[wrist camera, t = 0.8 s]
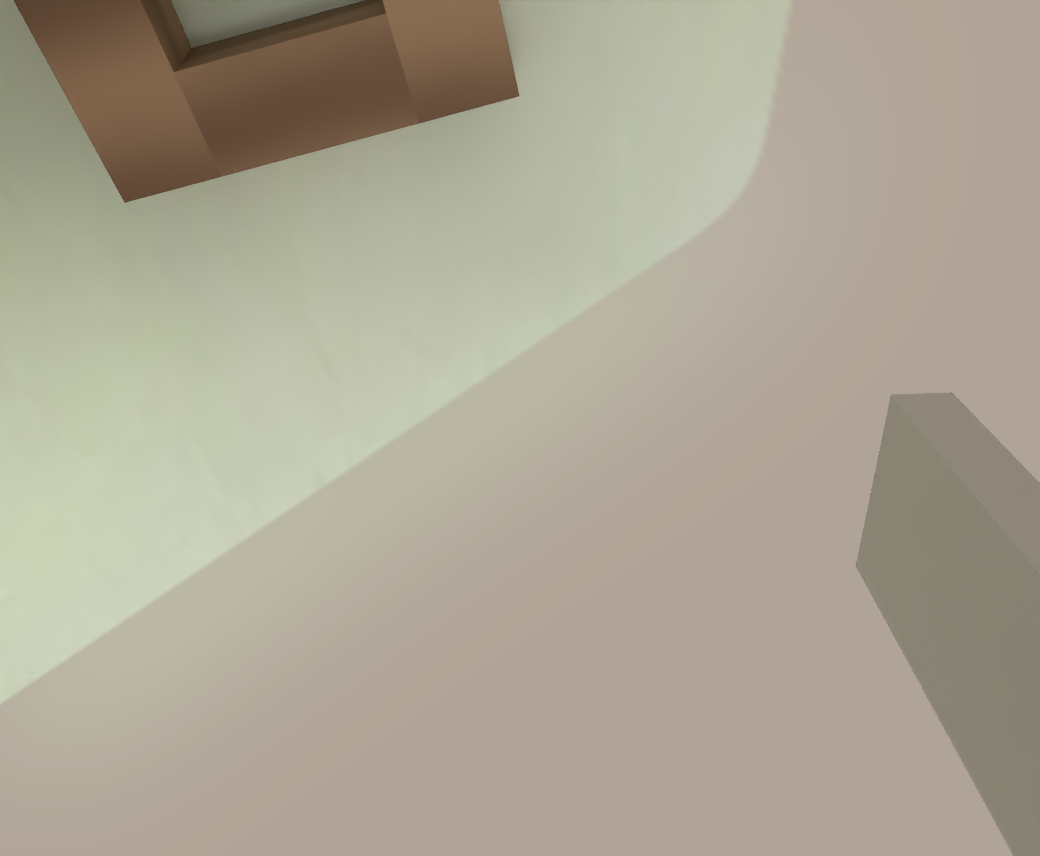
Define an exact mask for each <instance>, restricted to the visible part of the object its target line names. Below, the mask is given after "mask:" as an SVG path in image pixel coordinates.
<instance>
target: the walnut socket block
mask: <svg viewBox="0 0 1040 856" xmlns="http://www.w3.org/2000/svg"><path fill="white" fill-rule="evenodd" d="M14 2H15V4H16V6H17V7H18V9H19V11H20V13H21V15H22V16H23V18H24V20H25V22H26V24H27V26H28V27H29V29H30V31H31V33H32V35H33V36H34V38H35V40H36V42H37V44H38V46H39V47H40V49H41V51H42V53H43V55H44V56H45V58H46V60H47V62H48V64H49V66H50V67H51V69H52V71H53V73H54V75H55V77H56V78H57V80H58V82H59V84H60V86H61V87H62V89H63V91H64V93H65V95H66V97H67V98H68V100H69V102H70V104H71V106H72V107H73V109H74V111H75V113H76V115H77V117H78V118H79V120H80V122H81V124H82V126H83V127H84V129H85V131H86V133H87V135H88V137H89V138H90V140H91V142H92V144H93V146H94V148H95V149H96V151H97V153H98V155H99V157H100V158H101V160H102V162H103V164H104V166H105V168H106V169H107V171H108V173H109V175H110V177H111V178H112V180H113V182H114V184H115V186H116V188H117V189H118V191H119V193H120V195H121V197H122V199H123V200H124V202H129V201H133V200H136V199H140V198H144V197H147V196H151V195H155V194H159V193H162V192H166V191H170V190H173V189H177V188H181V187H185V186H188V185H192V184H196V183H199V182H203V181H207V180H210V179H214V178H218V177H222V176H225V175H229V174H233V173H236V172H240V171H244V170H247V169H251V168H255V167H259V166H262V165H266V164H270V163H273V162H277V161H281V160H285V159H288V158H292V157H296V156H299V155H303V154H307V153H310V152H314V151H318V150H322V149H325V148H329V147H333V146H336V145H340V144H344V143H348V142H351V141H355V140H359V139H362V138H366V137H370V136H373V135H377V134H381V133H385V132H388V131H392V130H396V129H399V128H403V127H407V126H411V125H414V124H418V123H422V122H425V121H429V120H433V119H436V118H440V117H444V116H448V115H451V114H455V113H459V112H462V111H466V110H470V109H474V108H477V107H481V106H485V105H488V104H492V103H496V102H499V101H503V100H507V99H511V98H514V97H518V96H519V92H518V88H517V83H516V79H515V74H514V69H513V65H512V60H511V56H510V51H509V47H508V42H507V38H506V33H505V28H504V24H503V19H502V15H501V10H500V6H499V1H498V0H365V1H361V2H358V3H354V4H351V5H347V6H343V7H340V8H336V9H333V10H329V11H325V12H322V13H318V14H314V15H311V16H307V17H304V18H300V19H296V20H293V21H289V22H286V23H282V24H278V25H275V26H271V27H268V28H264V29H260V30H257V31H253V32H250V33H246V34H242V35H239V36H235V37H232V38H228V39H224V40H221V41H217V42H214V43H210V44H206V45H203V46H199V47H195V48H191V46H190V44H189V41H188V39H187V37H186V35H185V32H184V30H183V28H182V26H181V23H180V21H179V19H178V17H177V14H176V12H175V10H174V8H173V5H172V3H171V1H170V0H14Z"/></svg>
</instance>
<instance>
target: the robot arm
mask: <svg viewBox="0 0 1040 856" xmlns="http://www.w3.org/2000/svg"><path fill="white" fill-rule="evenodd" d="M856 567H857V569H858V571H859V573H860V575H861V576H862V578H863V580H864V582H865V584H866V586H867V588H868V589H869V591H870V593H871V595H872V597H873V598H874V600H875V602H876V604H877V606H878V608H879V610H880V611H881V613H882V615H883V617H884V619H885V621H886V622H887V624H888V626H889V628H890V630H891V632H892V634H893V635H894V637H895V639H896V641H897V643H898V645H899V646H900V648H901V650H902V652H903V654H904V655H905V657H906V659H907V661H908V663H909V665H910V667H911V668H912V670H913V672H914V674H915V676H916V678H917V679H918V681H919V683H920V685H921V687H922V689H923V691H924V692H925V694H926V696H927V698H928V699H929V701H930V703H931V705H932V707H933V709H934V711H935V713H936V714H937V716H938V718H939V720H940V722H941V724H942V726H943V727H944V729H945V731H946V733H947V735H948V737H949V738H950V740H951V742H952V744H953V746H954V748H955V749H956V751H957V753H958V755H959V757H960V758H961V761H962V762H963V764H964V766H965V768H966V770H967V772H968V773H969V775H970V777H971V779H972V781H973V783H974V784H975V786H976V788H977V790H978V792H979V793H980V795H981V797H982V799H983V801H984V803H985V805H986V806H987V808H988V810H989V812H990V814H991V816H992V818H993V819H994V821H995V823H996V825H997V827H998V829H999V830H1000V832H1001V834H1002V836H1003V838H1004V839H1005V841H1006V843H1007V845H1008V847H1009V849H1010V851H1011V852H1012V854H1013V856H1040V483H1039V482H1038V481H1037V480H1036V479H1035V478H1034V477H1033V476H1032V474H1031V473H1029V471H1028V470H1026V468H1025V467H1024V466H1023V465H1022V464H1021V463H1020V462H1019V461H1018V460H1017V459H1016V458H1015V457H1014V456H1013V455H1012V454H1011V453H1010V452H1009V451H1008V450H1007V449H1006V448H1005V447H1004V446H1003V445H1002V444H1001V443H1000V441H998V439H997V438H996V437H995V436H994V435H993V434H992V433H991V432H990V431H989V430H988V429H987V428H986V427H985V426H984V425H983V424H982V423H981V422H980V421H979V420H978V419H977V418H976V417H975V416H974V415H973V414H972V413H971V412H970V410H968V408H967V407H966V406H965V405H964V404H963V403H961V401H960V400H959V399H958V398H957V397H956V396H955V395H954V394H953V393H922V394H896V395H895V394H892V395H891V397H890V402H889V407H888V412H887V416H886V421H885V426H884V431H883V436H882V441H881V446H880V451H879V455H878V460H877V465H876V470H875V475H874V480H873V485H872V489H871V494H870V499H869V504H868V509H867V514H866V519H865V524H864V528H863V533H862V538H861V543H860V548H859V553H858V557H857V562H856Z"/></svg>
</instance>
